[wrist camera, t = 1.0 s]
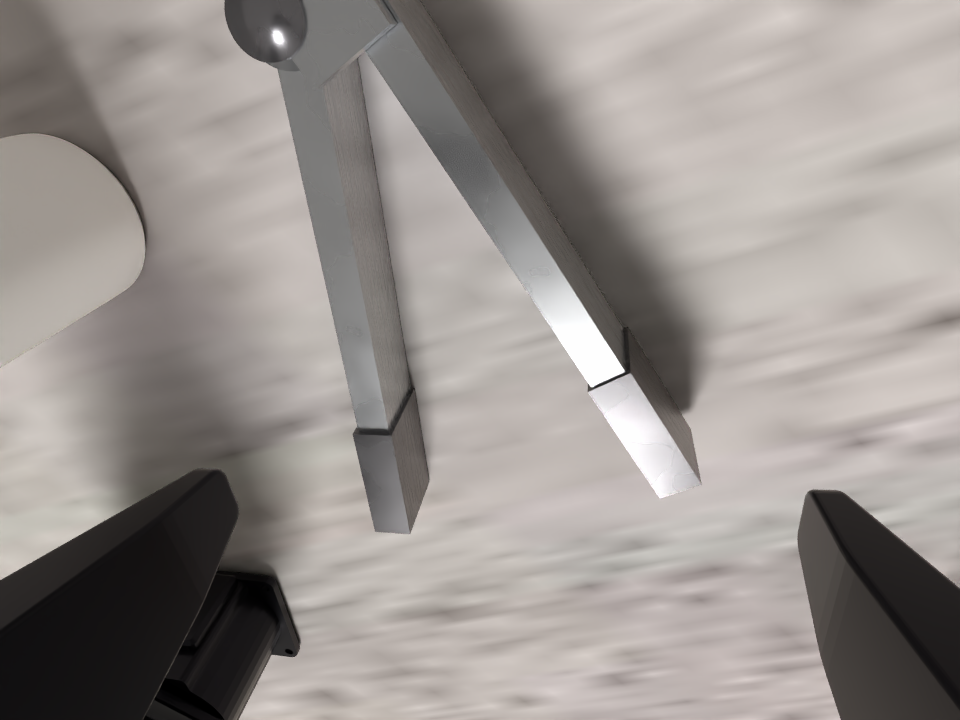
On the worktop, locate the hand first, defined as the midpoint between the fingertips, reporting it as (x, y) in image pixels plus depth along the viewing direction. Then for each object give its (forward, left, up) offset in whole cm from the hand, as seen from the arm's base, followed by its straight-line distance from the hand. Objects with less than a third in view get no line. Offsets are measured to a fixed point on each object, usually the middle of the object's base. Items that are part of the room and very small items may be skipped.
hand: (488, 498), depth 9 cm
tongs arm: (0, +1, -13) cm, 13 cm away
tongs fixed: (-1, +7, -13) cm, 15 cm away
